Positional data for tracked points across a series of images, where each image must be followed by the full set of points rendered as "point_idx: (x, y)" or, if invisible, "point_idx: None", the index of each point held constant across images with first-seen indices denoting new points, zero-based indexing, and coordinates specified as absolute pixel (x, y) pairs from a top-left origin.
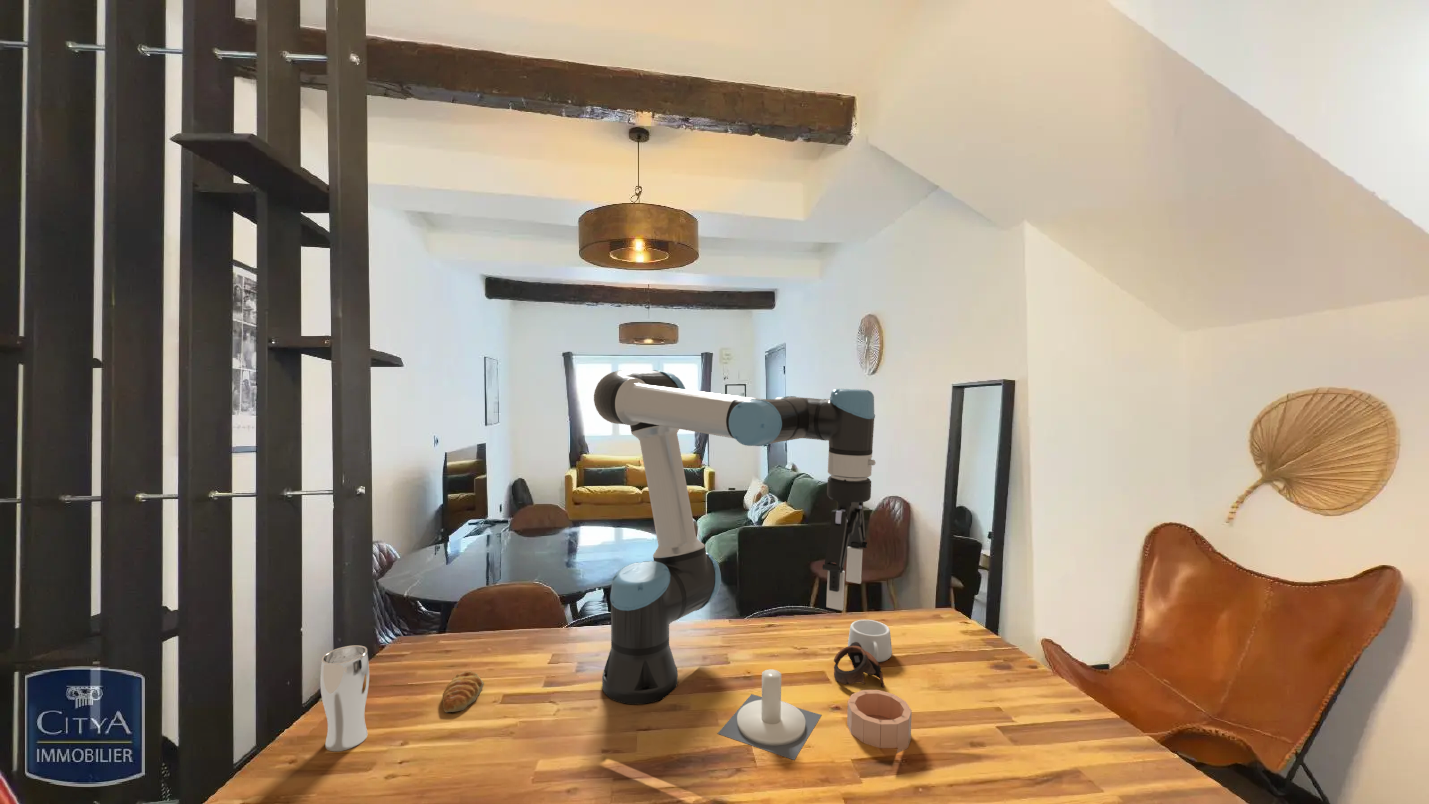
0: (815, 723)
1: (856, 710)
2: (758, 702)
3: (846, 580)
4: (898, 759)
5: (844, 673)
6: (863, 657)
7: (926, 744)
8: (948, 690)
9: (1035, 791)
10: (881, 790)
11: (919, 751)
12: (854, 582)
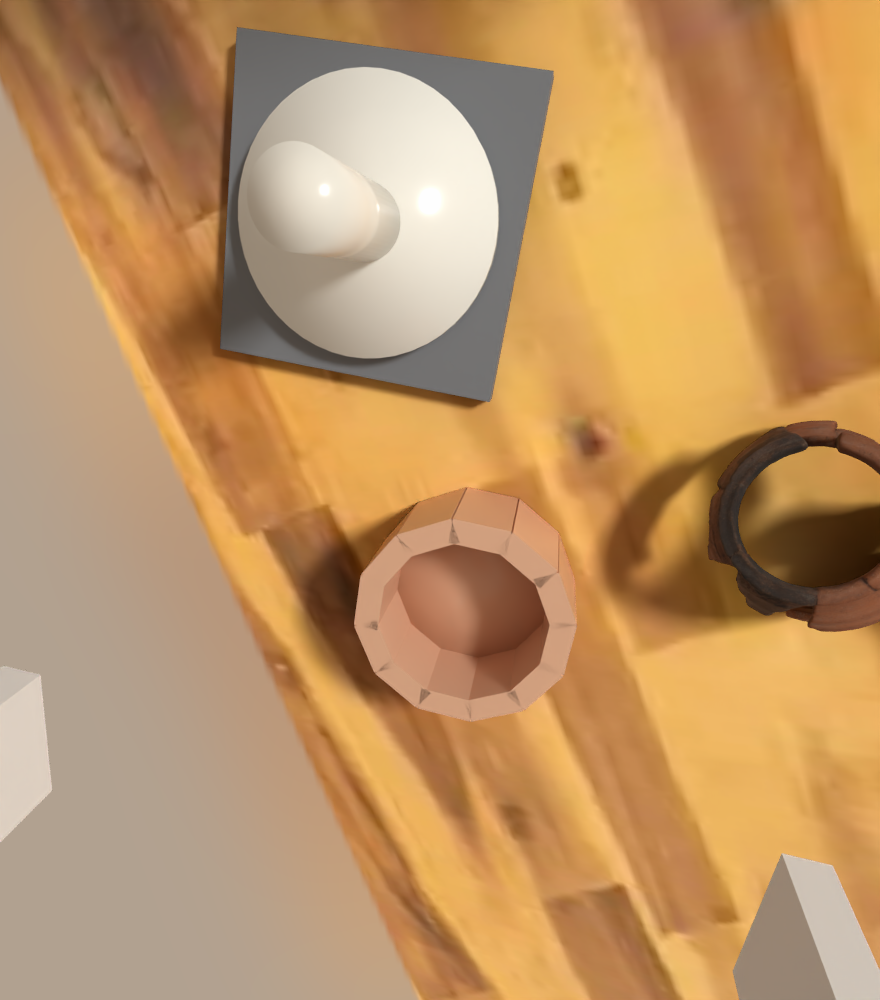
0: (429, 386)
1: (406, 550)
2: (453, 134)
3: (782, 866)
4: None
5: (728, 486)
6: (798, 589)
7: None
8: (814, 810)
9: (374, 888)
10: (238, 581)
11: None
12: (750, 930)
